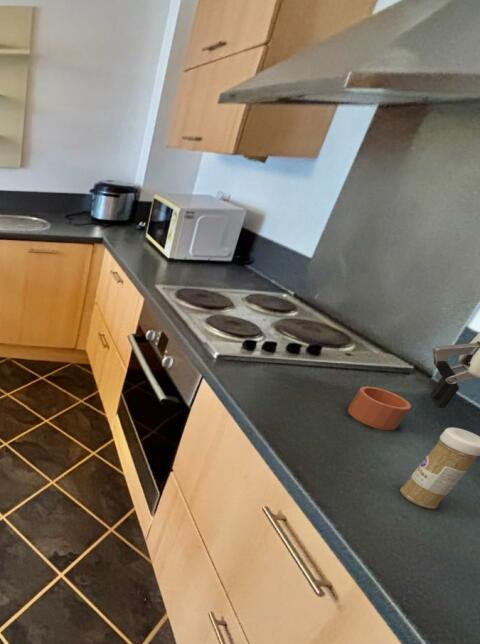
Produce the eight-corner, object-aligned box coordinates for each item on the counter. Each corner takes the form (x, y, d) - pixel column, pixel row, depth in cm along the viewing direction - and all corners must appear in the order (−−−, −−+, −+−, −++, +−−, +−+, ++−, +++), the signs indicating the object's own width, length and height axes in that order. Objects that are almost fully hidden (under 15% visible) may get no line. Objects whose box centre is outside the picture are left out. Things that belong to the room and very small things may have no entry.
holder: (391, 416, 90) (405, 395, 87) (400, 435, 83) (416, 414, 81) (345, 402, 93) (357, 382, 91) (350, 420, 87) (364, 399, 85)
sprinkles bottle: (394, 484, 71) (440, 422, 65) (428, 494, 69) (478, 431, 63) (407, 504, 67) (456, 440, 61) (443, 514, 66) (498, 450, 60)
